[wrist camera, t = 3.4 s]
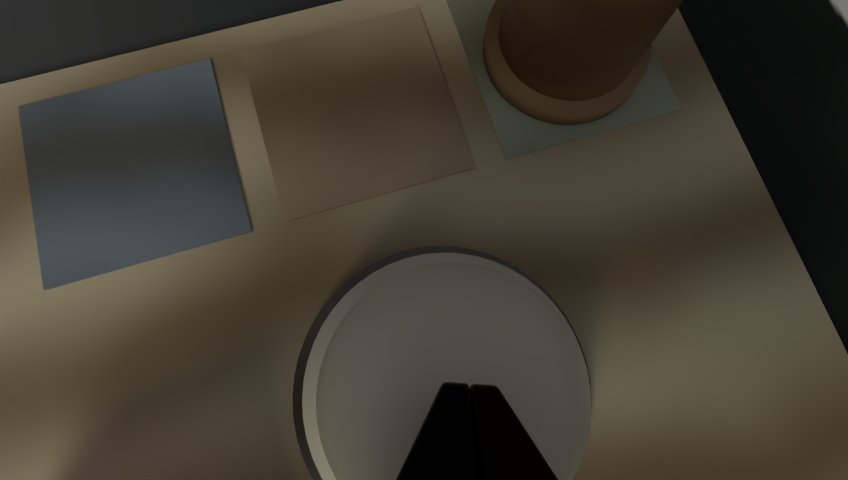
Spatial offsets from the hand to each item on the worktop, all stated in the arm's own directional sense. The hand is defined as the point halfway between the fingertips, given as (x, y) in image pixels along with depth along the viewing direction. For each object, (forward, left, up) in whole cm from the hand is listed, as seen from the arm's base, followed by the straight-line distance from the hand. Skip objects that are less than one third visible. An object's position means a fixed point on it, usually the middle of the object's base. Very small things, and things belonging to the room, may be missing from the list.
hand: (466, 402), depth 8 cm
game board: (+3, +1, -8) cm, 8 cm away
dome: (0, 0, -6) cm, 6 cm away
